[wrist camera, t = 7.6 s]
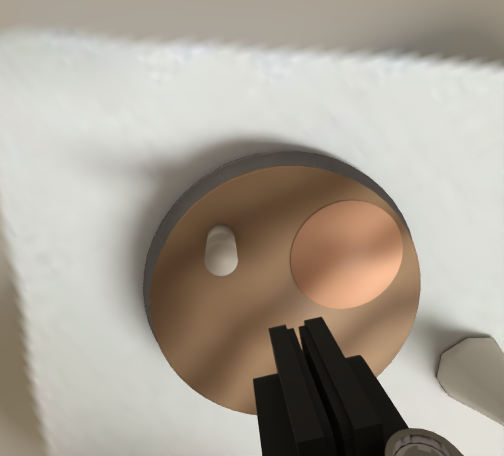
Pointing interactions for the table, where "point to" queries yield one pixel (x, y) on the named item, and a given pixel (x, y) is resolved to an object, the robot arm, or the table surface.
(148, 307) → the base
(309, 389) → the robot arm
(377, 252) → the turntable
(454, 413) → the table surface
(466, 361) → the flask
